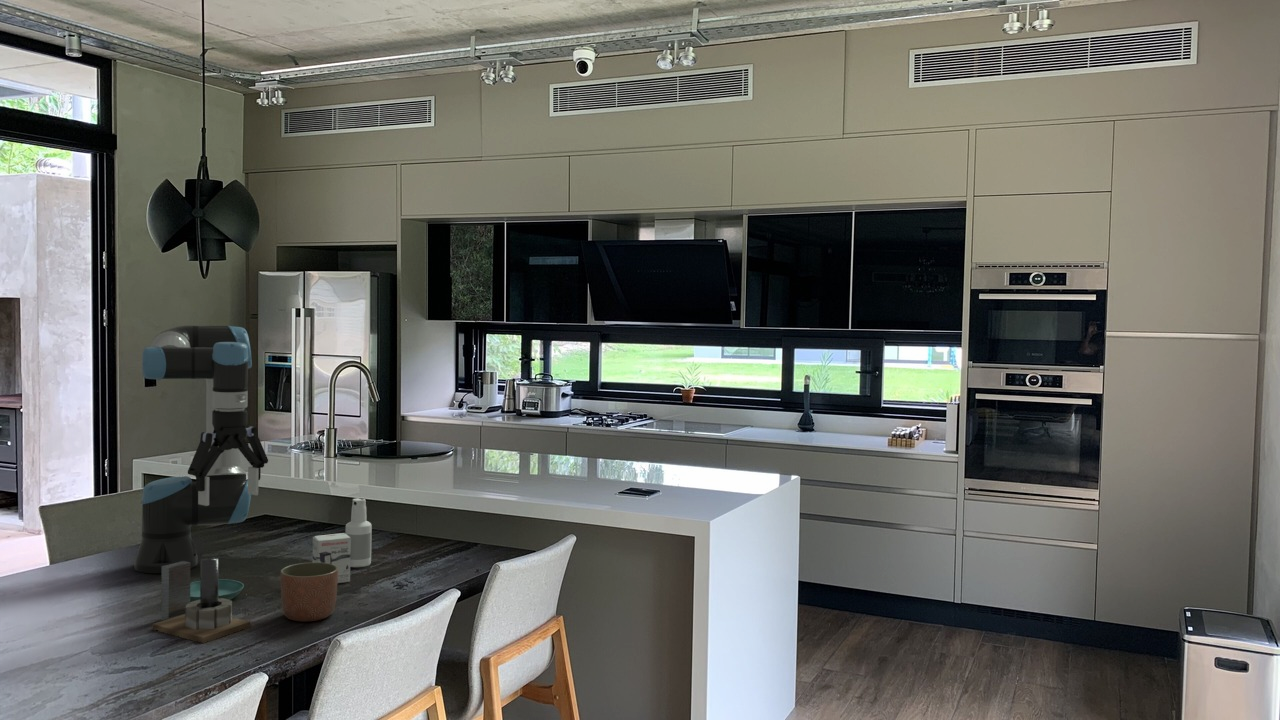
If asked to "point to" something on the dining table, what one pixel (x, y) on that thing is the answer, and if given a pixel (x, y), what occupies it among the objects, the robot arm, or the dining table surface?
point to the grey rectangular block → (175, 589)
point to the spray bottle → (359, 535)
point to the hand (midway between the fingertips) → (229, 499)
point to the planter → (308, 591)
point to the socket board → (198, 634)
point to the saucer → (225, 590)
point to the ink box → (334, 553)
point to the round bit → (209, 582)
